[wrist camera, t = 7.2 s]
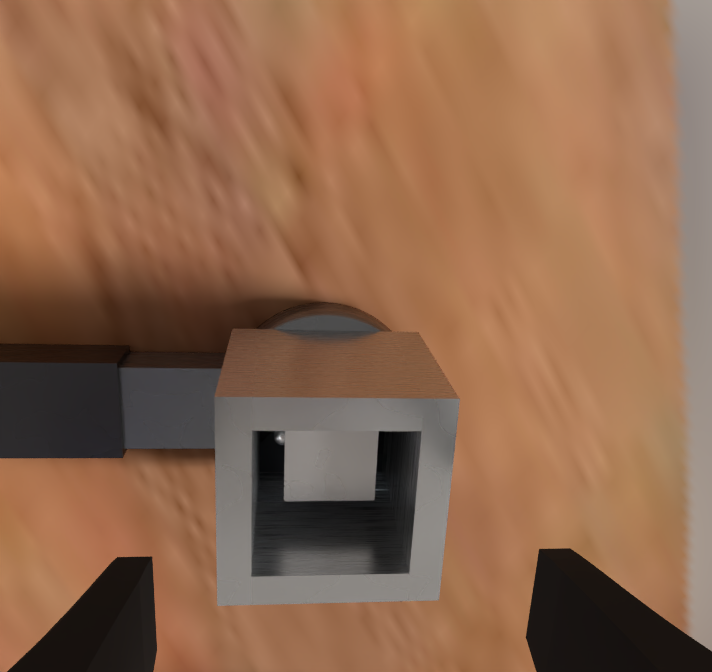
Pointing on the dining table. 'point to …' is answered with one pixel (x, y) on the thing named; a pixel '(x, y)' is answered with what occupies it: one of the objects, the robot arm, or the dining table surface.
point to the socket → (332, 518)
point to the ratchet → (172, 408)
